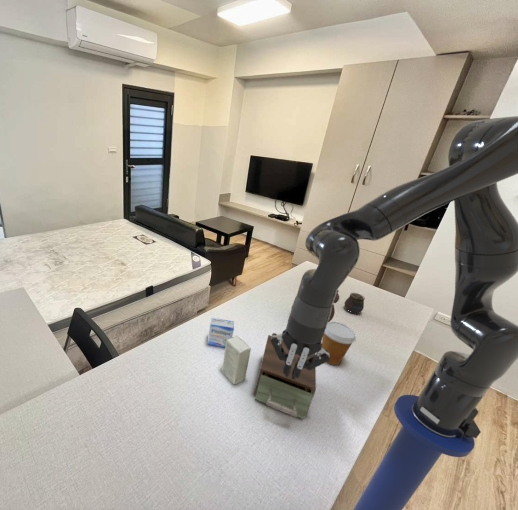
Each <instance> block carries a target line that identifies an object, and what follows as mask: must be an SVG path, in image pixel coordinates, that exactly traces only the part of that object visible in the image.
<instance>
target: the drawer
mask: <svg viewBox="0 0 518 510" xmlns="http://www.w3.org/2000/svg"><path fill="white" fill-rule="evenodd" d="M254 399H255V400H257V401H259V402H262V403H264V404H266V406H268V407H270V408H273V409H275V410H278V411H281V412H282V413H285V414H288V415H289V416H292V417H295V418H297V417H298V418H300V419H302V420H305V418H306V416H307V414H308V411H309V409H308V407H309V408H310V406H311V403H312V401H311V399H312V400H313V398H312V394H311V393H309V392H308V389H307V388H305V387H302V386H299V385H297V384H294V383H291V382H289V381H286V380H283V379H281V378H278V377H275V376H273V375H270V374H267V373H265V372H264V375H261V378H260V382H259V385H258V389H257V393H256V395H255V397H254ZM310 402H311V403H310ZM309 405H310V406H309ZM307 410H308V411H307ZM306 413H307V414H306ZM305 415H306V416H305Z"/></svg>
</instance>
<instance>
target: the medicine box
mask: <svg viewBox="0 0 518 510" xmlns="http://www.w3.org/2000/svg"><path fill="white" fill-rule="evenodd" d="M209 323H210V324H209V329H208V336H207V345H208V346H211V347H212V346H213V347H219V348H223V349H225V347H226V341H227V339H229V338H232V337H234V330H235V321H233V320H228V319H221V318H217V317H216V318H215V317H210V322H209Z"/></svg>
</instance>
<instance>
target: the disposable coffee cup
mask: <svg viewBox="0 0 518 510" xmlns="http://www.w3.org/2000/svg"><path fill="white" fill-rule="evenodd" d="M356 340H357V336H356V332H355V330H354V329H352V328H351V327H350V326H348V325H347V324H344V323H342V322H339V321H330V322H328V324H327V327H326V329H325V332H324V335H323V338H322V341H321V343H322V348H323V349H324V350H328V351H329V356H330V360H329V361H327V362H326V363H327V364H329V365H333V366H337V365H340V363H341V362H342V360H343V359H344V357H345V355H346V354H347V352H348V351H349V349H350V348H351V346H352V345H353V343H355V342H356Z"/></svg>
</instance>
